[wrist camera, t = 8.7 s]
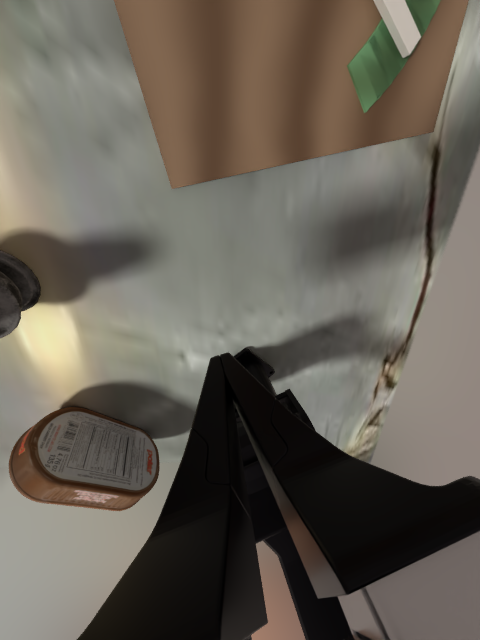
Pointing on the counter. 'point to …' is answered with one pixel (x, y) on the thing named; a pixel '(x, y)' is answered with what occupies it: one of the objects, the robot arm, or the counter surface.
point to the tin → (84, 461)
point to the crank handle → (399, 24)
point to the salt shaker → (15, 291)
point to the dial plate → (282, 78)
